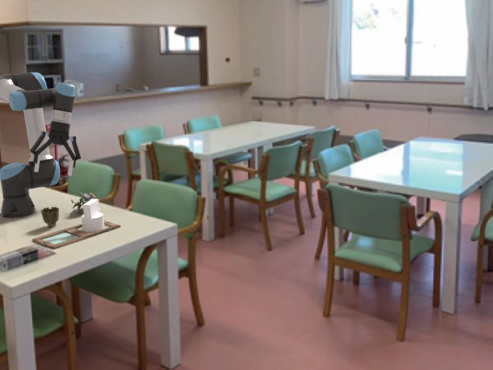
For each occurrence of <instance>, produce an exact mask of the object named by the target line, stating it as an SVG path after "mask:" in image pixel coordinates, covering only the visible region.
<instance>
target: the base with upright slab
mask: <svg viewBox="0 0 493 370" xmlns="http://www.w3.org/2000/svg"><path fill="white" fill-rule="evenodd" d="M82 207H83V214H82V215H81V224H82V226H83V227H82V231H84V232H87V233H93V232H96V231H99V230H102V229H105V225H104V221H105V220H104V213H102V212H100V211H101V209H100V200H99V198H92V199H91V200H90V201H88V202H87V203H85V204H83V205H82Z"/></svg>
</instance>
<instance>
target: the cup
mask: <svg viewBox="0 0 493 370" xmlns="http://www.w3.org/2000/svg"><path fill="white" fill-rule="evenodd" d="M40 212H41V217H42V220H43V222H44V223H45V224H47V227H48V228H55V227H56V226H57V222H58V220H59V219H60V208H59V207H57V206H51V208H49V207H44V208H42V209H41V210H40Z"/></svg>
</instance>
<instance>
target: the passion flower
mask: <svg viewBox="0 0 493 370" xmlns="http://www.w3.org/2000/svg"><path fill="white" fill-rule="evenodd" d="M78 194H79V195H80V198H79V199H78V200H79V201H77V202H75V201H74V200H73V199H70V200H71V204H73V203H74V205H73V206H72V209H75V208H76V207H77V211H76V212H77V213H78V212H79V210H81V207H83V204H85V203H87V202H88V201H90V200H91V199H97V196H96V195H95V194H94V193H93V192H90V193H89V194H87V193H84V192H81V191H79V193H78Z"/></svg>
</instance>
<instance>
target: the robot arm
mask: <svg viewBox="0 0 493 370" xmlns="http://www.w3.org/2000/svg"><path fill="white" fill-rule="evenodd" d="M75 97H76V86H75V85H73V84H70V83H65V82H57V83H56V85H55V87H52V88H48V86H47V83H46V80H45V78H44V75H42V74H41V73H40V72H20V73H17V72H16V73H6V74H2V75H0V101H7V102H8V103H9V107H10V109H11V110H12V111H20V112H21V111H23V116H24V121H25V127H26V134H27V140H28V146H29V153H30V157H29V159H28V160H27V161H28V164H26V162H21V161H19V162H12V163H9V164H6V165H3V166H2V167H1V168H0V186H1V187H0V188H1V192H2V193H1V194H2V203H1V207H0V213H1V214H0V215H1V216H2V215H3V216H7V217H6V218H19V217H18V216H21V217H25V215H26V216H29V215H32V214H34V213H35V212H36V206H35V204H34V201H33V200H32V198H31V196H30V191H29V190H33V189H38V188H43V187H44V188H45V187H50V186H53V185H57V183H59V182H60V181H59V180H60V177H61V170H60V169H61V168H60V164H59V162H58V160H56V159H55V158H54V156H53V155H51V153H50V149H49V148H50V145H52V144H53V145H59V146H63V147H64V149H65V150H66V151H67V153H68V155H69V157H70V159H69V163H68V168H67V176H69V177H72V175H73V174H72V173H73V169H74V168H76V163H77V161H78V160H81V159H82V156H81V153H80V150H79V146H78V143H77V136H76V135H70V131H71V124H70V123H71V121H72V115H73V114H72V113H73V108H74V103H75ZM47 108H52V111H51V121H50V124H49V125H50V126H49V132H47V129H46V123H45V116H44V110H43V109H47ZM48 138H49V139H48ZM68 141H70V142H71V145H72V149H73V150H72V149H71V147H70V145H69V143H68ZM33 212H34V213H33ZM3 216H2V217H3Z"/></svg>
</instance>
